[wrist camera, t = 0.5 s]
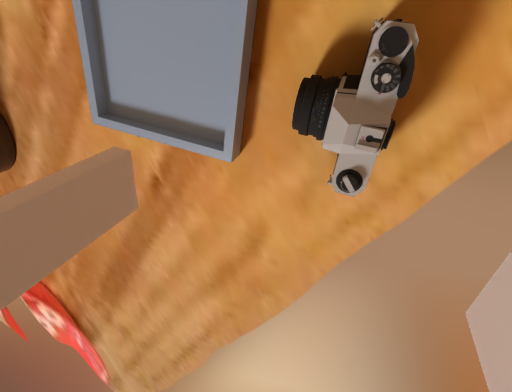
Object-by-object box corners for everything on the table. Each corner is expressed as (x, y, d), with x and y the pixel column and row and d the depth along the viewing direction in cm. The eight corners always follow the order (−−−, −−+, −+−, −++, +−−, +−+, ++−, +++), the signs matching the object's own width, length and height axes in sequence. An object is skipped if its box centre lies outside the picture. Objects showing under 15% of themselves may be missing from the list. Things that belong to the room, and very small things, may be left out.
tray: (107, 118, 37) (92, 123, 35) (81, -71, 27) (58, -79, 25) (239, 154, 33) (231, 162, 31) (263, -50, 23) (253, -57, 21)
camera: (317, 9, 24) (290, 14, 17) (419, 16, 22) (435, 25, 15) (297, 150, 32) (273, 194, 25) (372, 165, 30) (368, 217, 23)
